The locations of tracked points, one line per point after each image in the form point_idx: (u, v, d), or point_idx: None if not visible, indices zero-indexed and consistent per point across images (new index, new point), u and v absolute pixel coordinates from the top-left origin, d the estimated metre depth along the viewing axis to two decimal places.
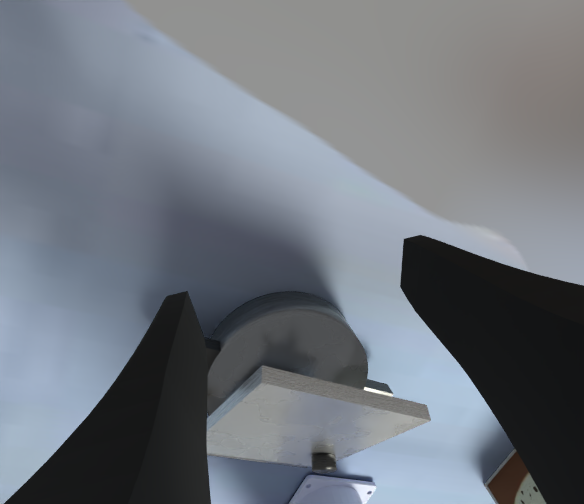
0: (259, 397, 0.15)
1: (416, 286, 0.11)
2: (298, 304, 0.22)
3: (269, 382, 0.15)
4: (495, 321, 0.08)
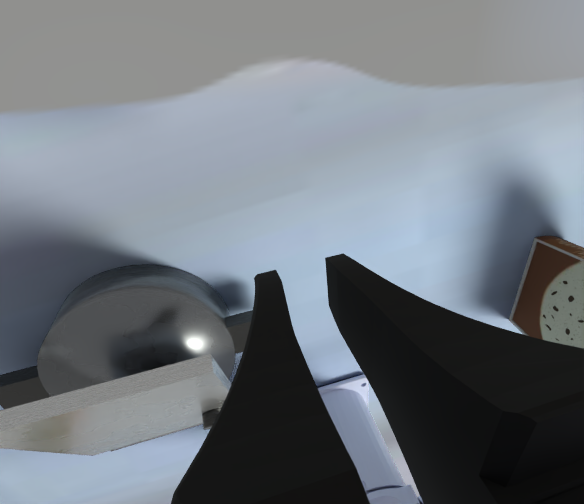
0: None
1: (337, 307, 0.11)
2: (83, 295, 0.19)
3: None
4: (390, 352, 0.08)
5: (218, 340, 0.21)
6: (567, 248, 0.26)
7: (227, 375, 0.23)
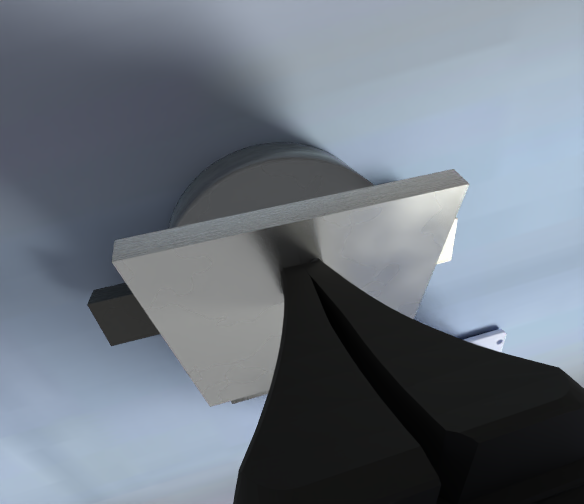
0: (154, 289, 0.10)
1: None
2: (227, 168, 0.13)
3: (130, 256, 0.09)
4: (356, 361, 0.07)
5: None
6: None
7: None
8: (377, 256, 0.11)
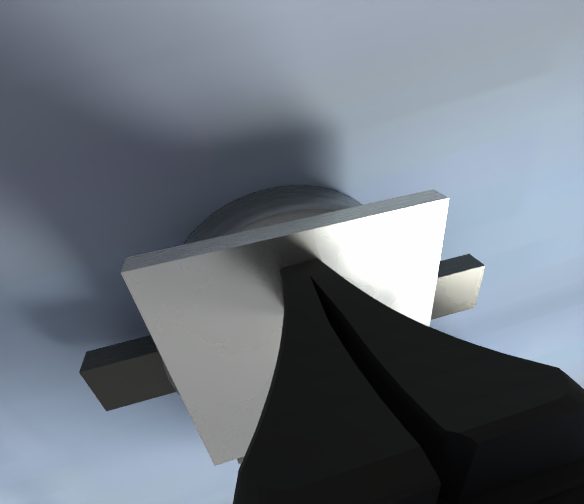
0: (158, 305, 0.10)
1: None
2: (235, 221, 0.12)
3: (137, 268, 0.09)
4: (356, 362, 0.07)
5: None
6: None
7: None
8: (373, 275, 0.12)
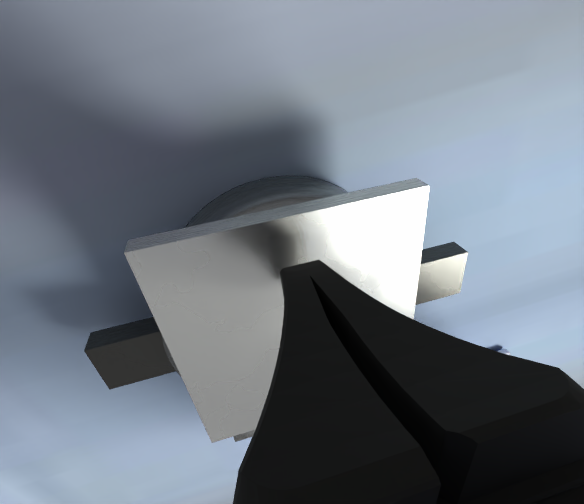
0: (159, 284, 0.11)
1: None
2: (230, 208, 0.13)
3: (139, 249, 0.10)
4: (356, 362, 0.07)
5: None
6: None
7: None
8: (360, 258, 0.12)
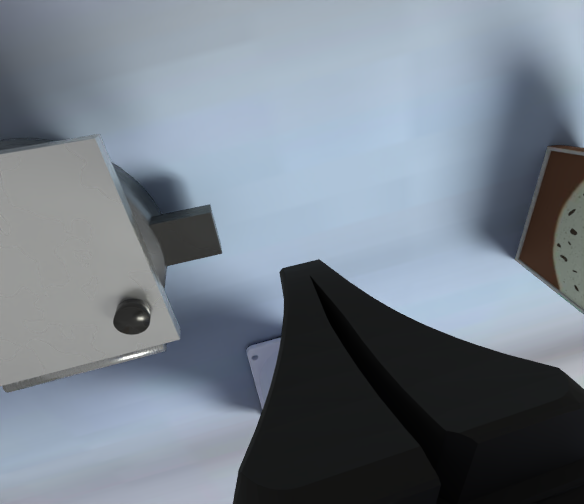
0: None
1: None
2: None
3: None
4: (356, 362, 0.07)
5: None
6: None
7: None
8: (53, 208, 0.13)
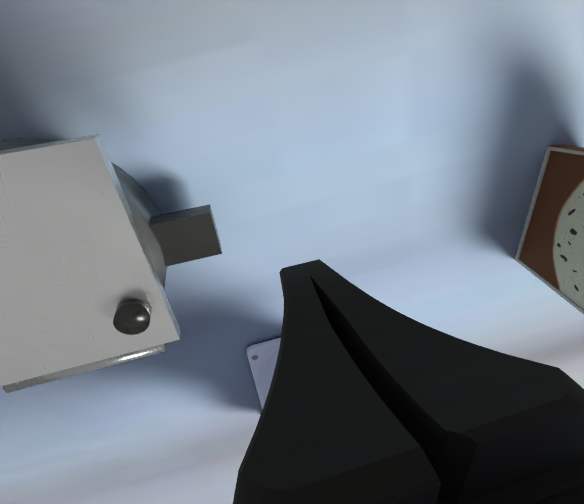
0: None
1: None
2: None
3: None
4: (356, 362, 0.07)
5: None
6: None
7: None
8: (53, 209, 0.13)
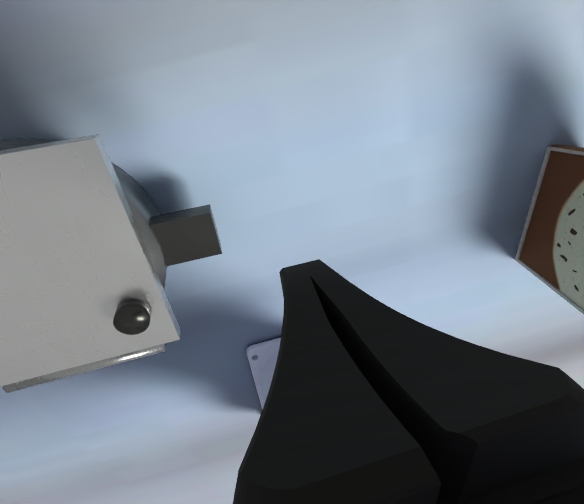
0: None
1: None
2: None
3: None
4: (356, 362, 0.07)
5: None
6: None
7: None
8: (53, 209, 0.13)
